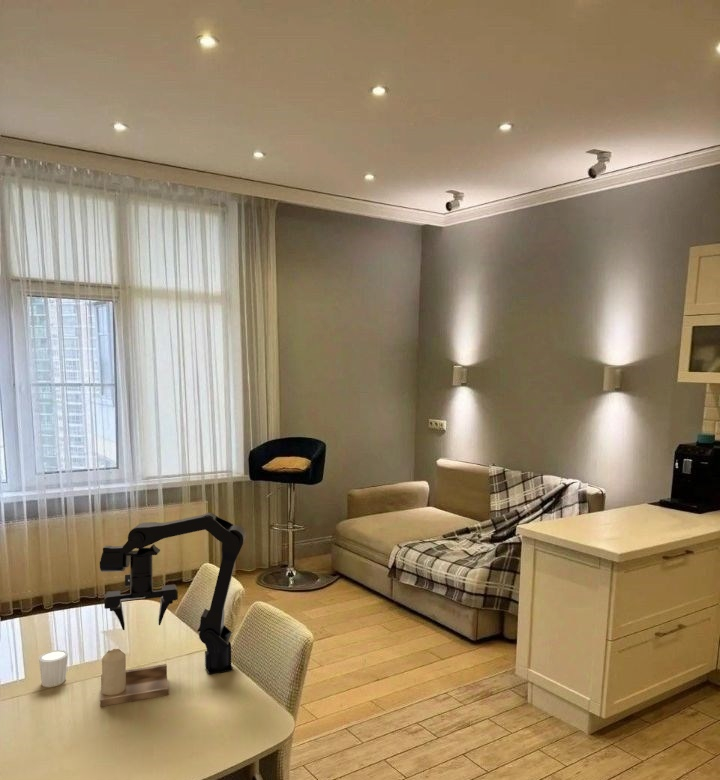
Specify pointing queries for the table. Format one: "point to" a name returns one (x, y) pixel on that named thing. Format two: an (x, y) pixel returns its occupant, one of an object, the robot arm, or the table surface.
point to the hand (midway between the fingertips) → (141, 627)
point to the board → (140, 685)
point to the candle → (113, 672)
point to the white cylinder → (53, 667)
